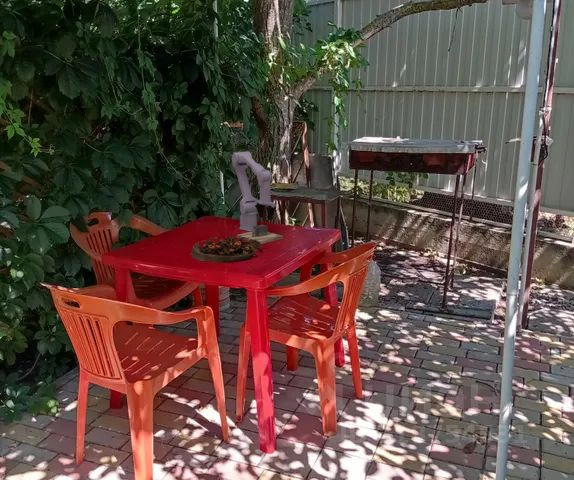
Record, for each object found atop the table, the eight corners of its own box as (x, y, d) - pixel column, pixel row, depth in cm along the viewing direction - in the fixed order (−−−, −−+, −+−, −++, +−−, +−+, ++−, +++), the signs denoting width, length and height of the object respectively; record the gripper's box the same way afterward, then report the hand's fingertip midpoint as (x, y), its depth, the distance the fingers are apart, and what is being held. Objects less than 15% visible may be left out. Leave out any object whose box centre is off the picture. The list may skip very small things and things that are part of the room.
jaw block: (253, 235, 312) (253, 226, 311) (262, 233, 316) (262, 224, 315) (258, 236, 310) (258, 227, 308) (267, 234, 314) (266, 225, 312)
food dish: (250, 243, 308) (250, 229, 306) (271, 261, 278) (271, 245, 276) (183, 248, 295) (183, 233, 293) (198, 267, 266) (198, 251, 264)
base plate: (237, 237, 315) (236, 227, 313) (259, 232, 325) (259, 222, 324) (259, 244, 301) (259, 233, 300) (282, 238, 312) (282, 228, 310)
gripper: (250, 192, 316) (251, 217, 320) (268, 196, 306) (268, 221, 309) (260, 191, 321) (261, 215, 324) (278, 194, 310) (278, 219, 314)
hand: (265, 218), depth 317 cm, fingers open, 7 cm apart
